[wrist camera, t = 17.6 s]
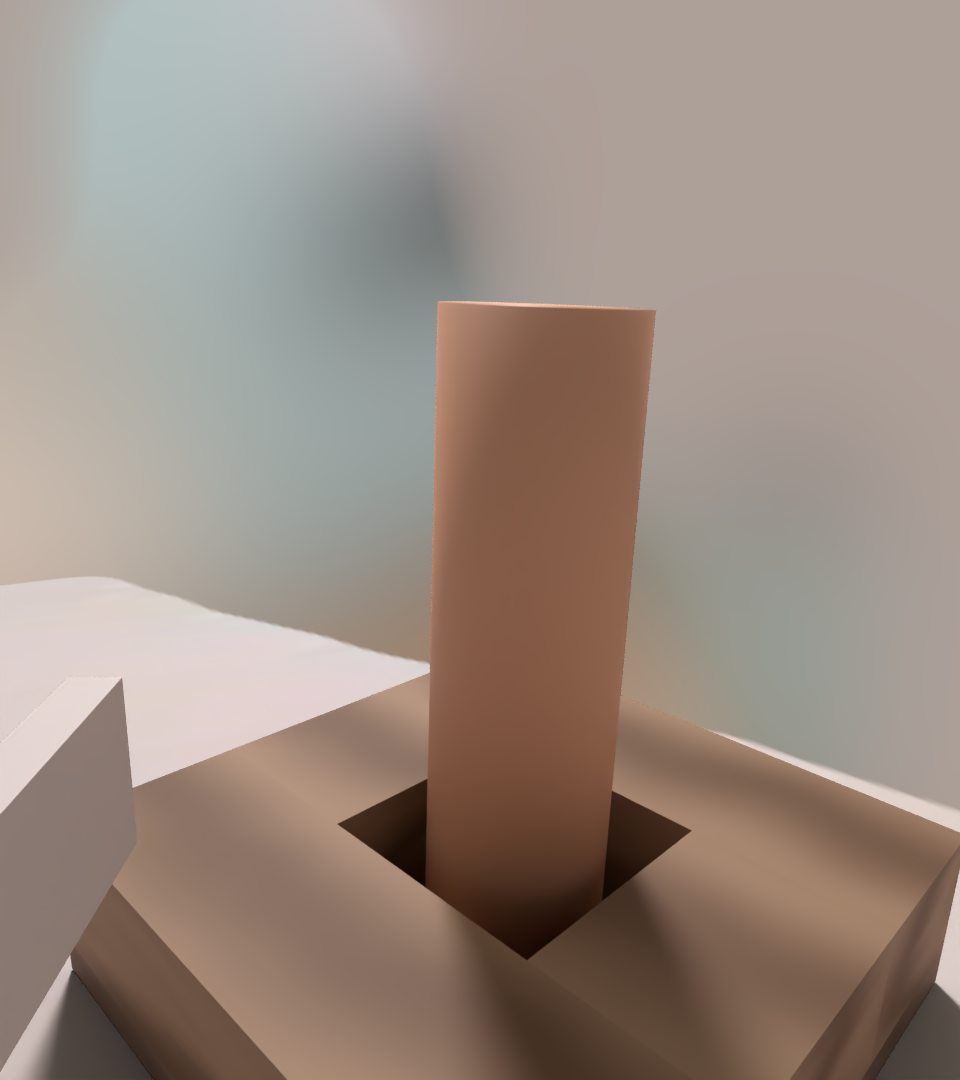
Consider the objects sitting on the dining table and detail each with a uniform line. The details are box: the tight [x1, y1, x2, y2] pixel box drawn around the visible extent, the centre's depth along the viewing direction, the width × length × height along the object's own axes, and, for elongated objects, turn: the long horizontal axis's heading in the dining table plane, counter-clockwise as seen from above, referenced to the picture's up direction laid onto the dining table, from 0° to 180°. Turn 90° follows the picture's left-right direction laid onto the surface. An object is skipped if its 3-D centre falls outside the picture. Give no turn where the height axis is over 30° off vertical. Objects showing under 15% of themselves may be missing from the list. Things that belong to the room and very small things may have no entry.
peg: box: [425, 301, 656, 960], centre depth 22 cm, size 5×5×18 cm
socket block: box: [70, 673, 960, 1080], centre depth 25 cm, size 18×18×5 cm
